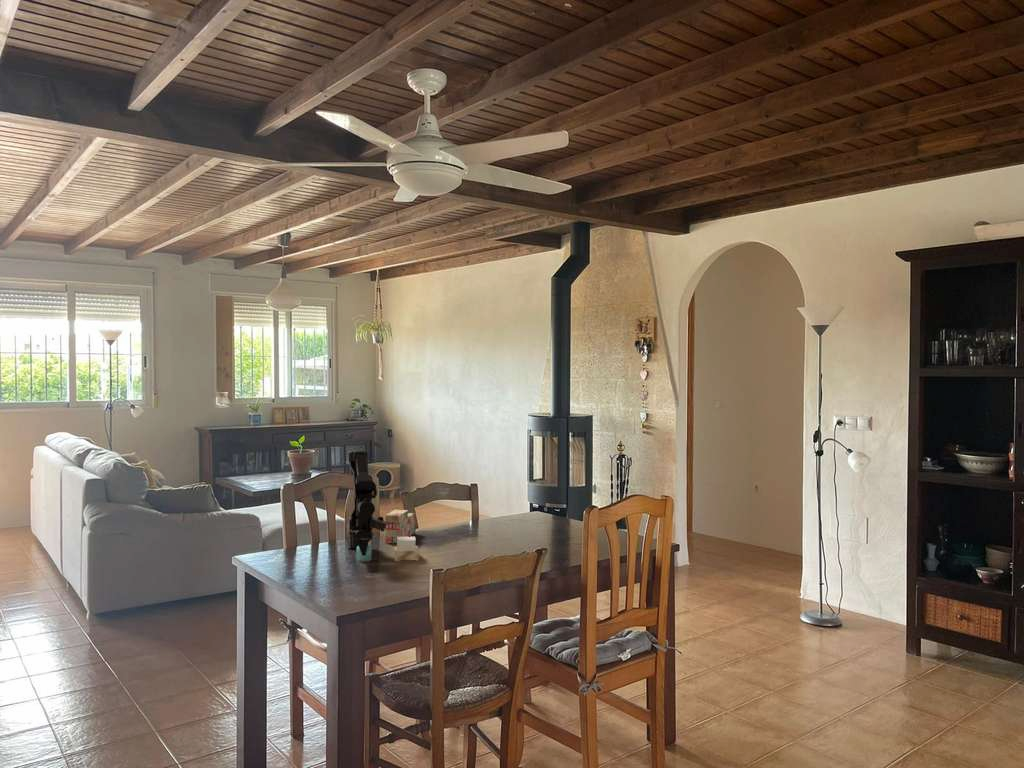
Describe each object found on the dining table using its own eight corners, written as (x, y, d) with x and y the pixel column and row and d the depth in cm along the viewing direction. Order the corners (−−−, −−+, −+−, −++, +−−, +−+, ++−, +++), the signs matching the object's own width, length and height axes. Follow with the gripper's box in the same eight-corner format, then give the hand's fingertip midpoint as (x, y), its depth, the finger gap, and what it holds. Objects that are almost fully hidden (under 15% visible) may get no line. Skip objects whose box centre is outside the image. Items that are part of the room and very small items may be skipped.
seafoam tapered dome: (354, 561, 297) (354, 548, 297) (360, 557, 302) (360, 544, 302) (367, 562, 295) (367, 549, 295) (373, 558, 301) (373, 545, 301)
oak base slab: (395, 562, 297) (395, 551, 297) (394, 556, 306) (394, 546, 306) (418, 561, 299) (419, 551, 299) (417, 556, 308) (417, 546, 308)
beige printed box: (401, 533, 349) (401, 505, 348) (414, 534, 348) (414, 506, 347) (385, 543, 328) (385, 514, 327) (399, 544, 326) (399, 515, 326)
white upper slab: (396, 551, 298) (397, 540, 298) (397, 547, 305) (397, 536, 305) (415, 550, 299) (415, 540, 299) (415, 546, 306) (415, 536, 306)
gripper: (386, 516, 291) (386, 557, 291) (385, 507, 309) (384, 546, 309) (355, 516, 289) (355, 558, 289) (356, 508, 307) (356, 547, 307)
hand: (364, 552), depth 299 cm, fingers open, 9 cm apart
